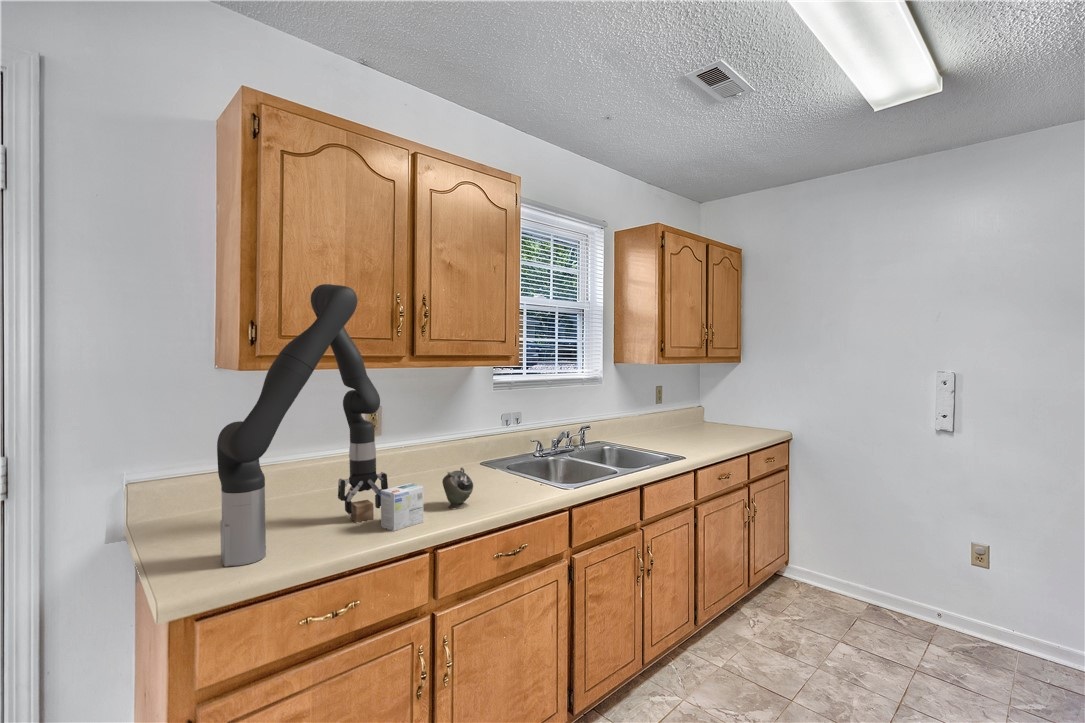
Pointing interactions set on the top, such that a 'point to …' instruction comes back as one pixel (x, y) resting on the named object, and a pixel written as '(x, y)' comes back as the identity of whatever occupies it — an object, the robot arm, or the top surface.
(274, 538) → the top surface
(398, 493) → the light bulb box
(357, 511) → the walnut cube
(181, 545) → the top surface
